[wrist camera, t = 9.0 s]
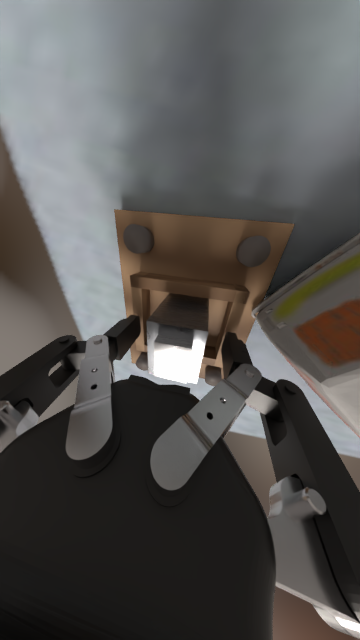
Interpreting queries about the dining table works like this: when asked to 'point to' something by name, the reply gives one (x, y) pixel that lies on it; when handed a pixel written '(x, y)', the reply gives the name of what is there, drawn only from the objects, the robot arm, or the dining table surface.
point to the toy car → (322, 328)
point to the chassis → (198, 272)
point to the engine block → (177, 337)
